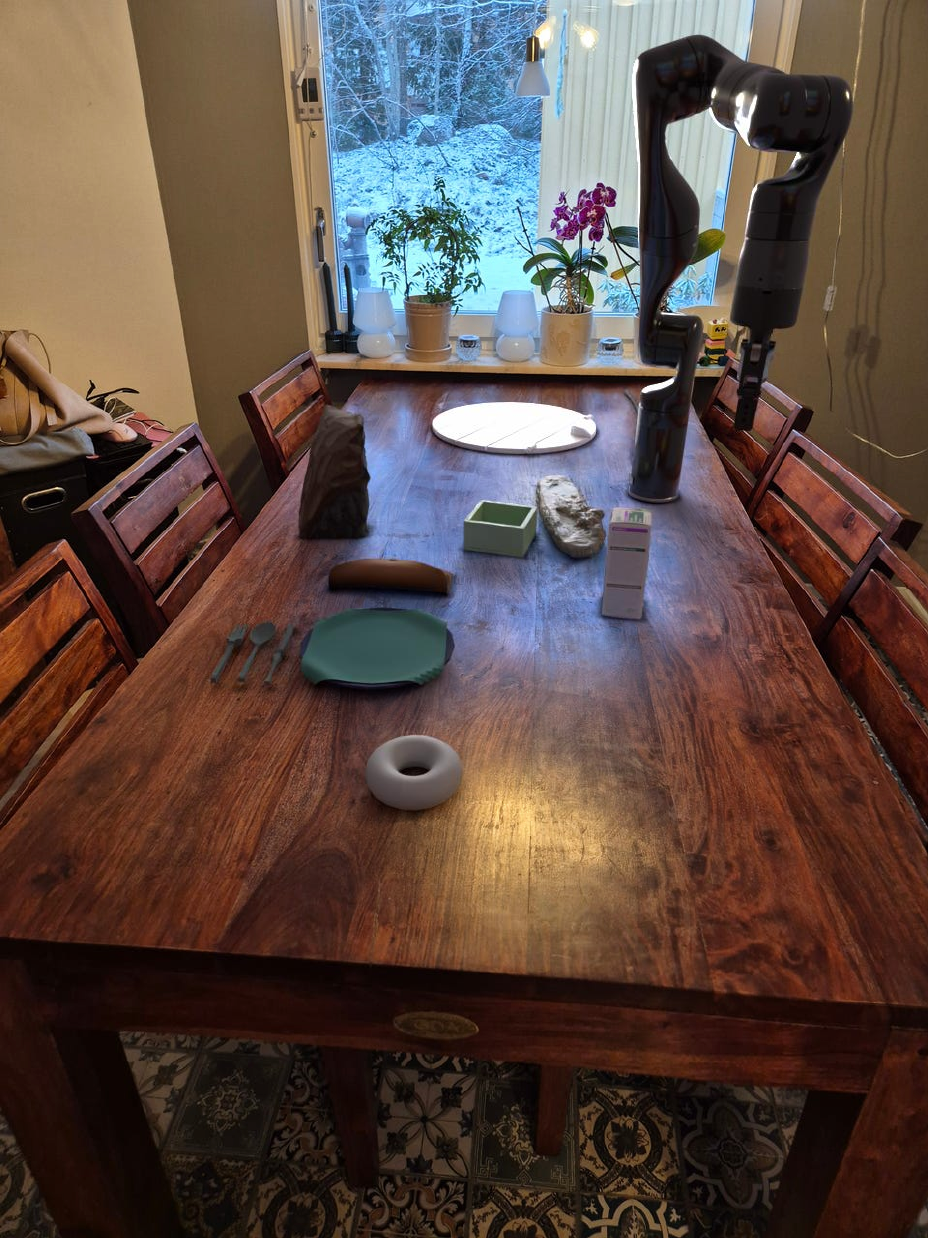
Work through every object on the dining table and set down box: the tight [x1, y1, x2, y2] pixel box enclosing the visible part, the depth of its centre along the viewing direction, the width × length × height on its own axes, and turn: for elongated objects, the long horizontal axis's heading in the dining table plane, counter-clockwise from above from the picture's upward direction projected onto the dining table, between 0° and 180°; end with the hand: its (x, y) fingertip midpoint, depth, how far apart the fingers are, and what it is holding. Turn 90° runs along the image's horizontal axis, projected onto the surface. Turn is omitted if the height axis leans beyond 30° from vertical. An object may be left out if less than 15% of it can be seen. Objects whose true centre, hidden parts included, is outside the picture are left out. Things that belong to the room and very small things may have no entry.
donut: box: [364, 734, 464, 811], centre depth 83 cm, size 10×4×10 cm
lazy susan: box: [432, 401, 597, 455], centre depth 195 cm, size 40×39×3 cm
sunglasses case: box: [327, 558, 453, 596], centre depth 123 cm, size 18×7×7 cm
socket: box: [462, 499, 538, 559], centre depth 137 cm, size 10×10×5 cm
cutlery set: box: [209, 606, 456, 690], centre depth 105 cm, size 20×30×2 cm, turn 89°
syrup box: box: [601, 507, 653, 620], centre depth 114 cm, size 6×6×14 cm
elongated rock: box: [535, 474, 607, 558], centre depth 145 cm, size 35×5×10 cm
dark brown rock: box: [297, 404, 372, 539], centre depth 138 cm, size 13×13×20 cm
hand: (744, 420), depth 102 cm, fingers open, 8 cm apart
